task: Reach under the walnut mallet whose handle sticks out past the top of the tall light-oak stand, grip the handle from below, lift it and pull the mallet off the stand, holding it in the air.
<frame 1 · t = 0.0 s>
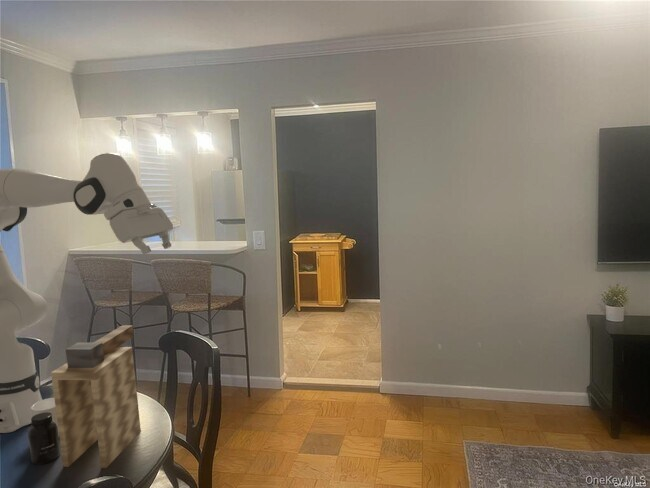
hand: (158, 250, 128), 54 cm above the table, tool tilted 30°, fingers open, 8 cm apart
mallet: (106, 350, 134), point 26 cm above the table, touching stand
supplement bottle: (46, 458, 128), on the table
white cup: (51, 436, 139), on the table
stand: (104, 447, 131), on the table
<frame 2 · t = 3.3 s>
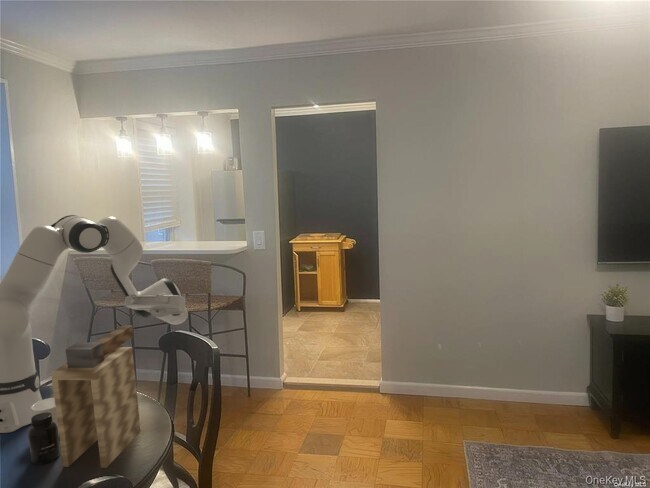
hand: (144, 296, 159), 35 cm above the table, tool pointing upward, fingers open, 8 cm apart
nothing on the table moved.
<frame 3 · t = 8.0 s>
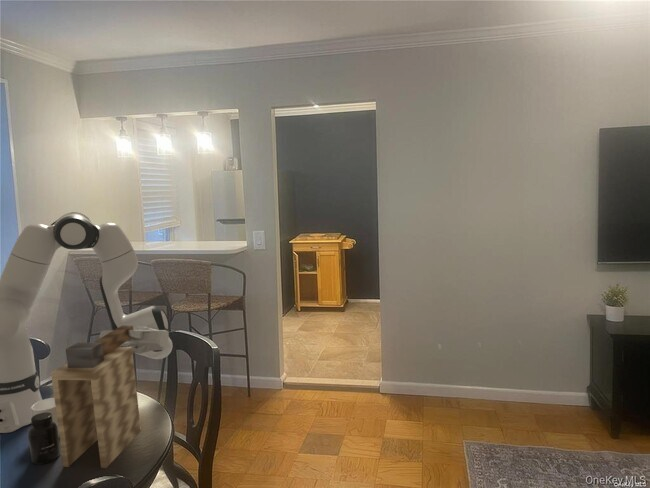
hand: (121, 332, 141), 28 cm above the table, tool pointing upward, fingers closed on mallet, 4 cm apart
mallet: (106, 350, 134), point 26 cm above the table, touching gripper, stand
everything else where it was.
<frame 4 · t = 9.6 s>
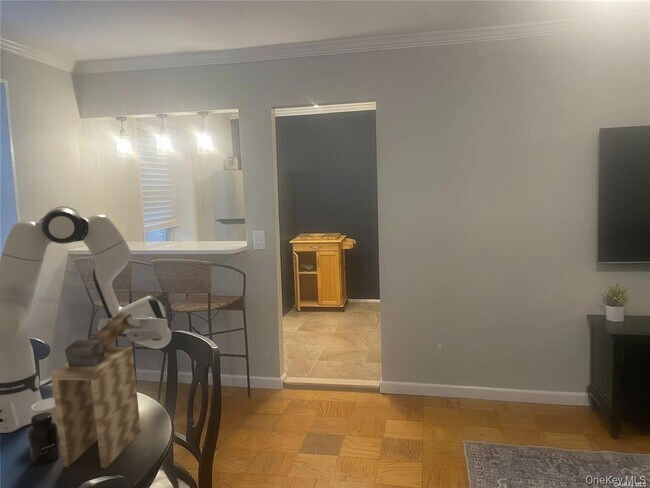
hand: (119, 320, 141), 32 cm above the table, tool pointing upward, fingers closed on mallet, 3 cm apart
mallet: (106, 342, 134), point 28 cm above the table, tilted 10°, touching gripper, stand
everything else where it was.
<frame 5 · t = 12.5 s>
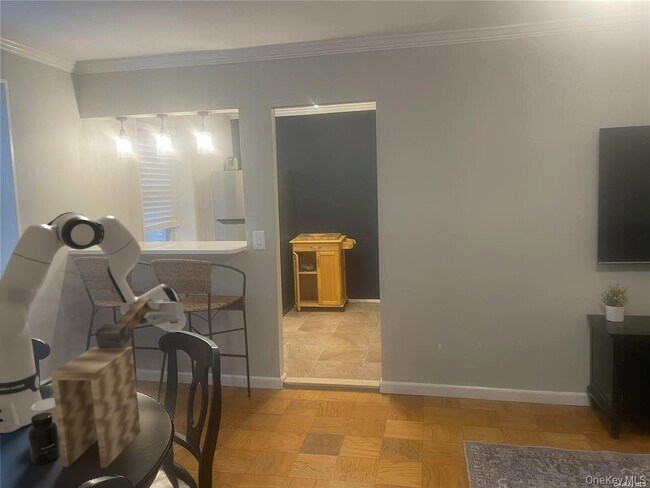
hand: (141, 303, 153), 34 cm above the table, tool pointing upward, fingers closed on mallet, 3 cm apart
mallet: (130, 325, 146), point 29 cm above the table, tilted 13°, touching gripper
everything else where it was.
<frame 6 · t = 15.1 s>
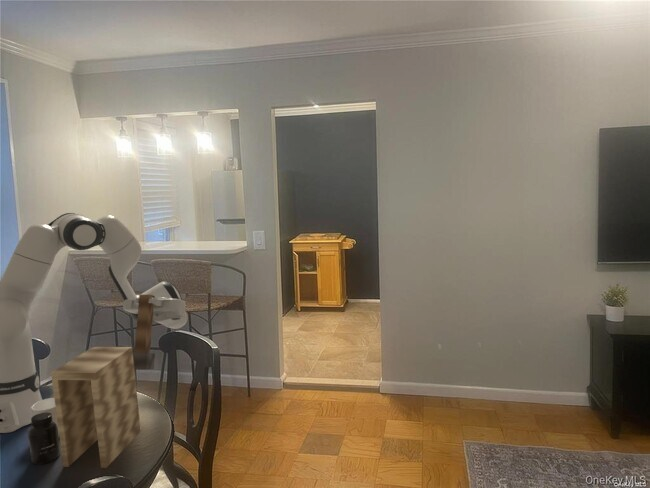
hand: (143, 300, 155), 34 cm above the table, tool pointing upward, fingers closed on mallet, 3 cm apart
mallet: (146, 331, 157), point 24 cm above the table, tilted 69°, touching gripper
everything else where it was.
at the end: the gripper is holding mallet; mallet touching gripper; mallet moved 23.2 cm from its start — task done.
